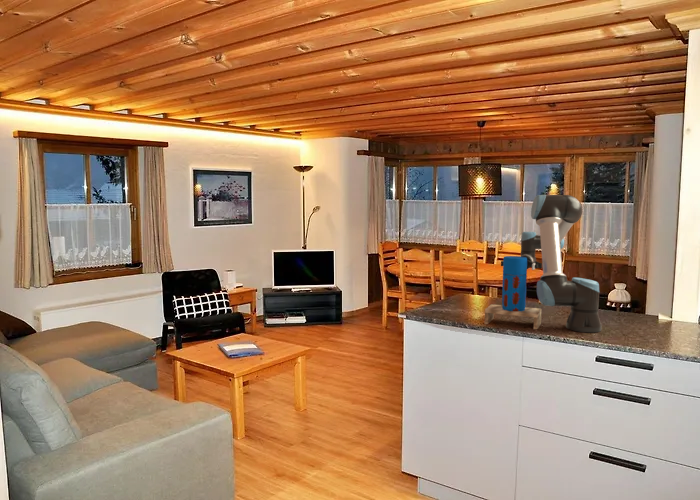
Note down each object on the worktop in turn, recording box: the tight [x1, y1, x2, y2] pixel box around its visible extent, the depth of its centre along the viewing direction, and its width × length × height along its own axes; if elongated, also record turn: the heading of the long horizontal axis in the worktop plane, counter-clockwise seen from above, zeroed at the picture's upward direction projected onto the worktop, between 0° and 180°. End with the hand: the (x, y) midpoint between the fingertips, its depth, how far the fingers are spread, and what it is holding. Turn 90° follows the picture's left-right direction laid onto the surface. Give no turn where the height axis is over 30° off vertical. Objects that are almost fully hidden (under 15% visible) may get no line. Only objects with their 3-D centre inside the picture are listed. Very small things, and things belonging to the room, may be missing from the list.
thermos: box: [501, 255, 528, 311], centre depth 264 cm, size 11×11×25 cm
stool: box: [484, 303, 542, 330], centre depth 266 cm, size 24×14×7 cm, turn 64°
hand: (518, 266), depth 276 cm, fingers open, 13 cm apart
